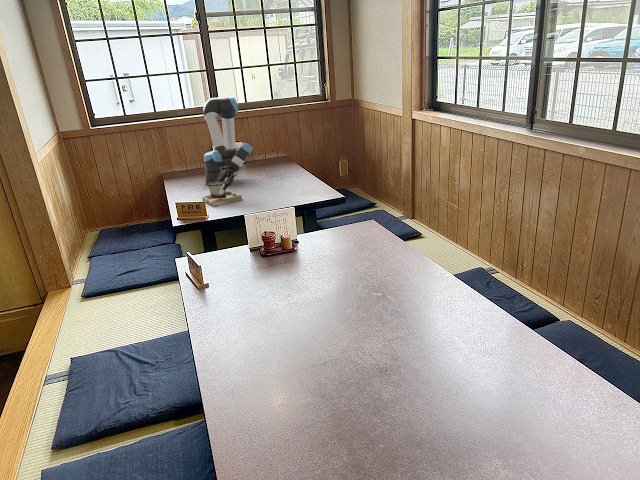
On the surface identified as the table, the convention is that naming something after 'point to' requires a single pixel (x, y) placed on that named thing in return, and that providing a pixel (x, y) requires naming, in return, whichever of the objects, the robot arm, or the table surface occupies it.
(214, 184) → the food container
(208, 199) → the tray
